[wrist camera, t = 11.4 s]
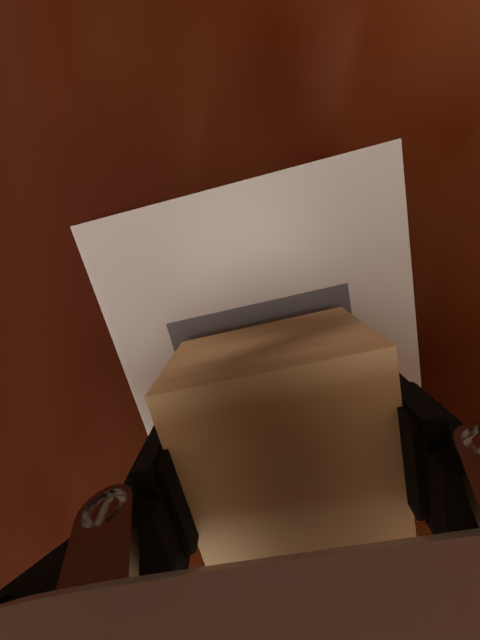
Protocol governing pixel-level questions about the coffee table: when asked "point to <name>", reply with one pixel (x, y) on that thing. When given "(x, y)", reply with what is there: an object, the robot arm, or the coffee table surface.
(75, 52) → the coffee table surface
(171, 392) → the maple brick
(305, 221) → the base board
